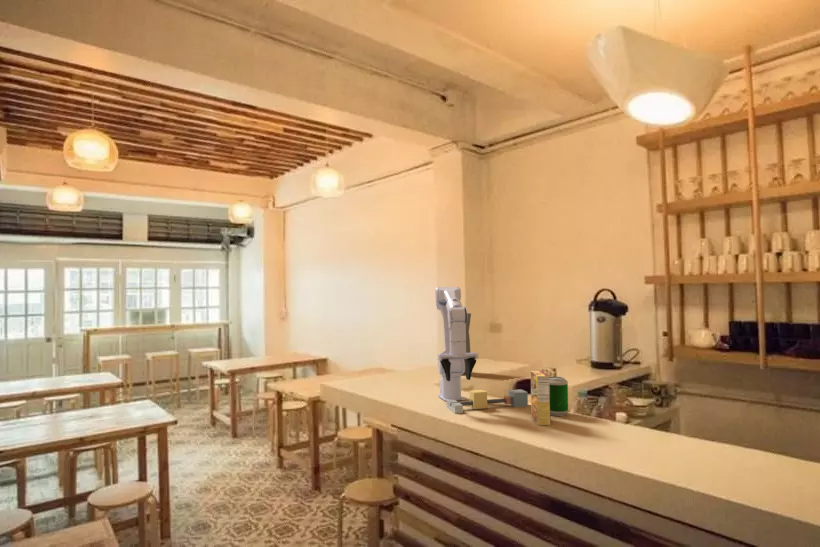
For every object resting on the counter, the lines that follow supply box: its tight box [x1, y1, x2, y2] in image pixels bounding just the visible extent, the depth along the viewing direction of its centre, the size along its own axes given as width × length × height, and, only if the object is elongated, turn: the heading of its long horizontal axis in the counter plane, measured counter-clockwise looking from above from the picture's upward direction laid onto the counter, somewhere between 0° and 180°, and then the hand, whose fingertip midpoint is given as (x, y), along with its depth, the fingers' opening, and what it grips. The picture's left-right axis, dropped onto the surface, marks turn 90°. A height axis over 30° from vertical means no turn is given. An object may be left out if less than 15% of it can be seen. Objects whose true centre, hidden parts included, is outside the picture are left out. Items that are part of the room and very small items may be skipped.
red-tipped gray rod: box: [451, 395, 511, 407], centre depth 173 cm, size 23×3×3 cm, turn 105°
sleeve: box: [469, 389, 488, 410], centre depth 173 cm, size 4×5×6 cm
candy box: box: [530, 370, 551, 426], centre depth 155 cm, size 9×4×15 cm, turn 179°
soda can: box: [550, 376, 569, 417], centre depth 164 cm, size 8×8×12 cm
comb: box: [445, 400, 464, 414], centre depth 171 cm, size 9×3×3 cm, turn 15°
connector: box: [507, 389, 529, 408], centre depth 177 cm, size 5×7×5 cm
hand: (458, 380), depth 171 cm, fingers open, 7 cm apart
